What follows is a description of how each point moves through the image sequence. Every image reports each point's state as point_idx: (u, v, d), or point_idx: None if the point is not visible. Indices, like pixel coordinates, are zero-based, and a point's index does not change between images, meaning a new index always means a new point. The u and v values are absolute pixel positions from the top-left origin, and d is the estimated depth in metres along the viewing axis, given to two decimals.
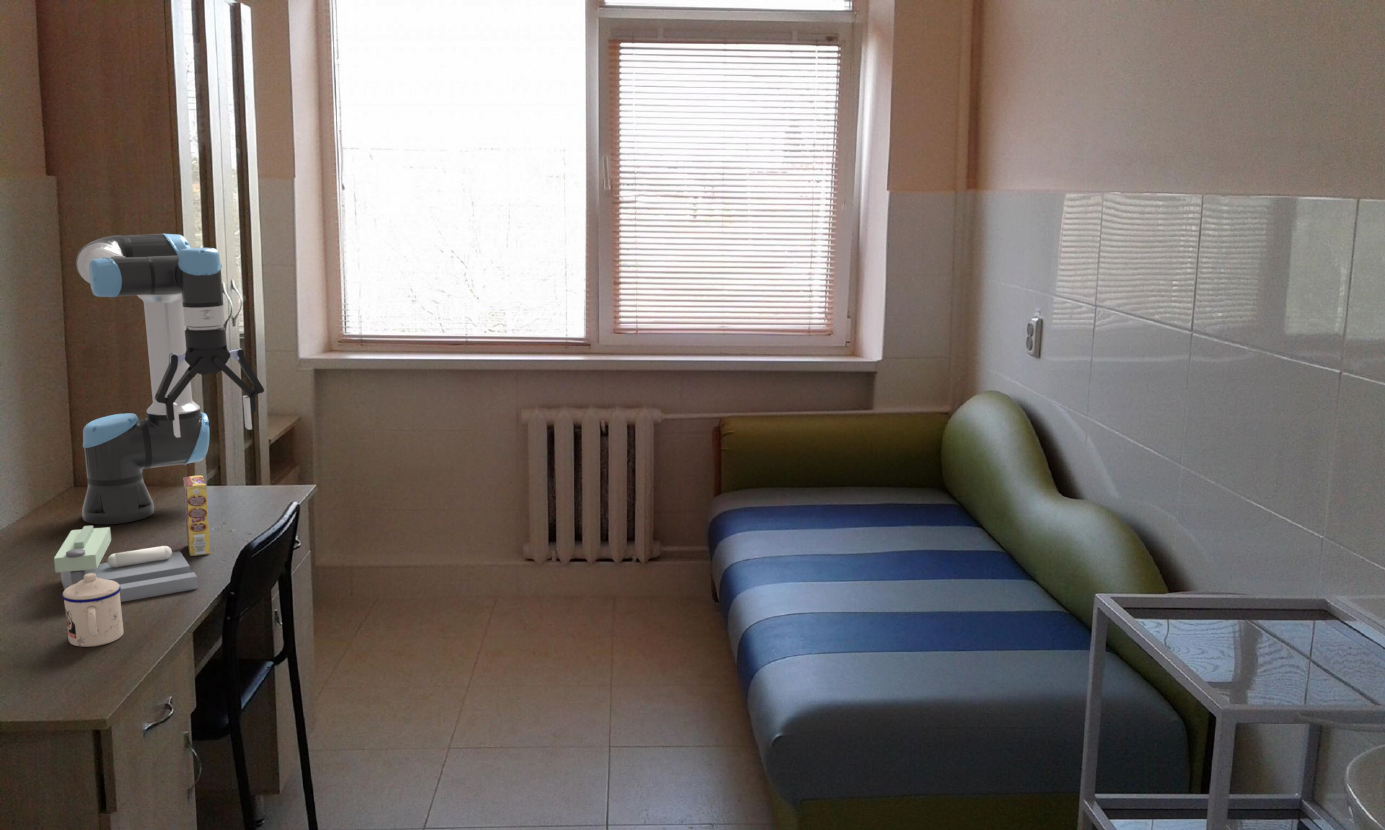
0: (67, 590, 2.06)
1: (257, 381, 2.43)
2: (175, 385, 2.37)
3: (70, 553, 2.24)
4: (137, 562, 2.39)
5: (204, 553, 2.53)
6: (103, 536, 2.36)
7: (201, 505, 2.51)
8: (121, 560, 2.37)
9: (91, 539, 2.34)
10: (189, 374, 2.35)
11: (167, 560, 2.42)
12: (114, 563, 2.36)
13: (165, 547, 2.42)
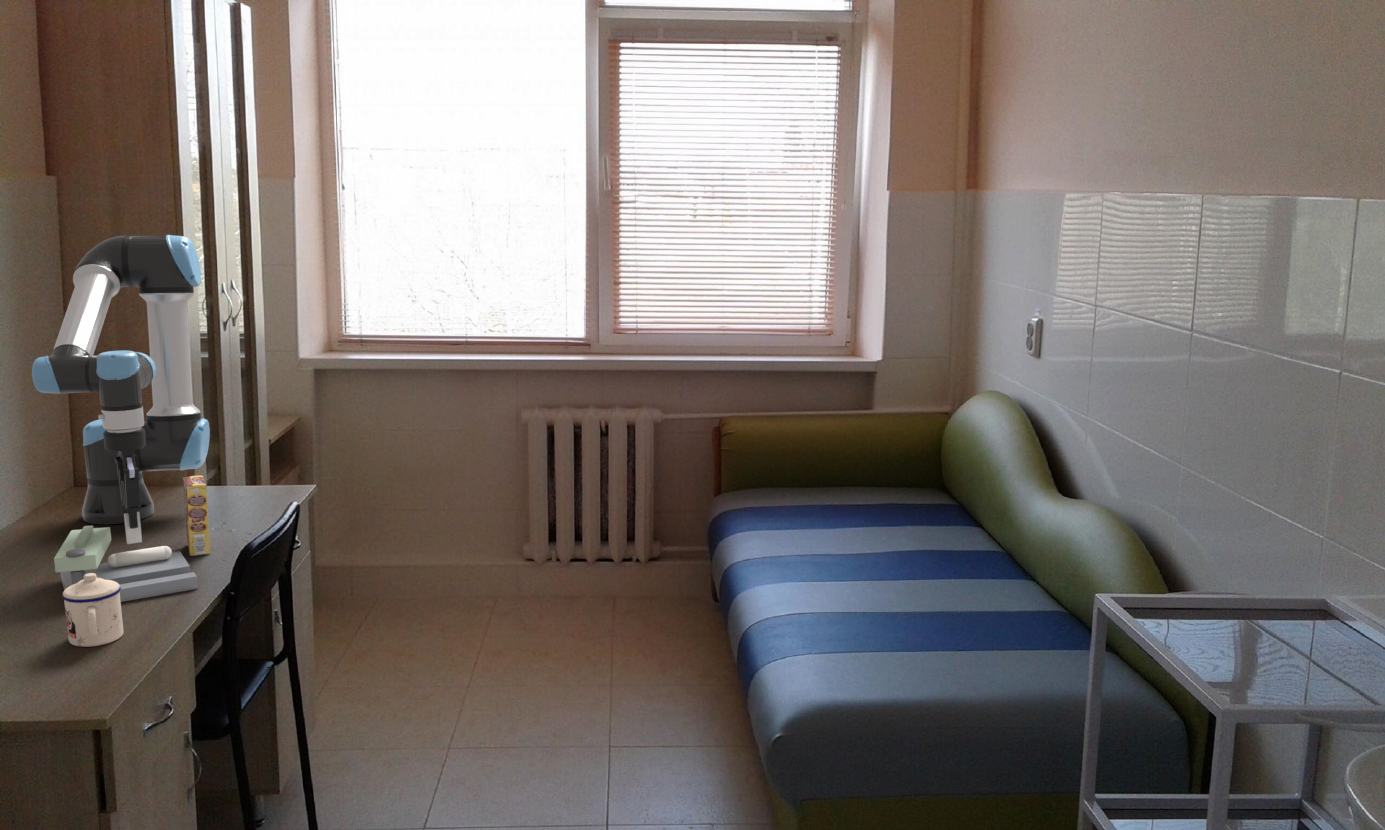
0: (67, 590, 2.06)
1: (126, 501, 2.39)
2: None
3: (70, 553, 2.24)
4: (137, 562, 2.39)
5: (204, 553, 2.53)
6: (103, 536, 2.36)
7: (201, 505, 2.51)
8: (121, 560, 2.37)
9: (91, 539, 2.34)
10: None
11: (167, 560, 2.42)
12: (114, 563, 2.36)
13: (165, 547, 2.42)
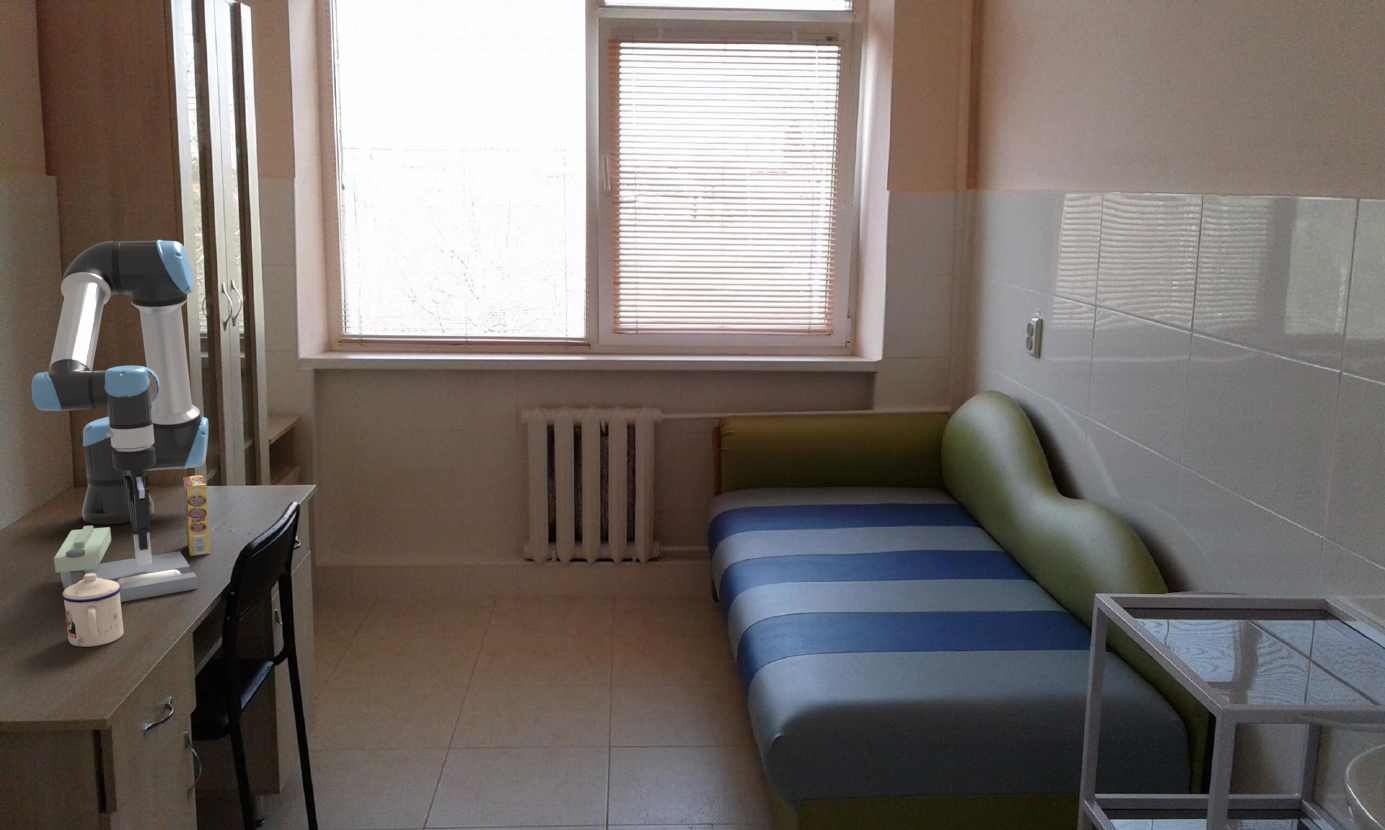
0: (67, 590, 2.06)
1: (136, 522, 2.30)
2: None
3: (70, 553, 2.24)
4: None
5: (204, 553, 2.53)
6: (103, 536, 2.36)
7: (201, 505, 2.51)
8: None
9: (91, 539, 2.34)
10: None
11: (167, 560, 2.42)
12: None
13: None
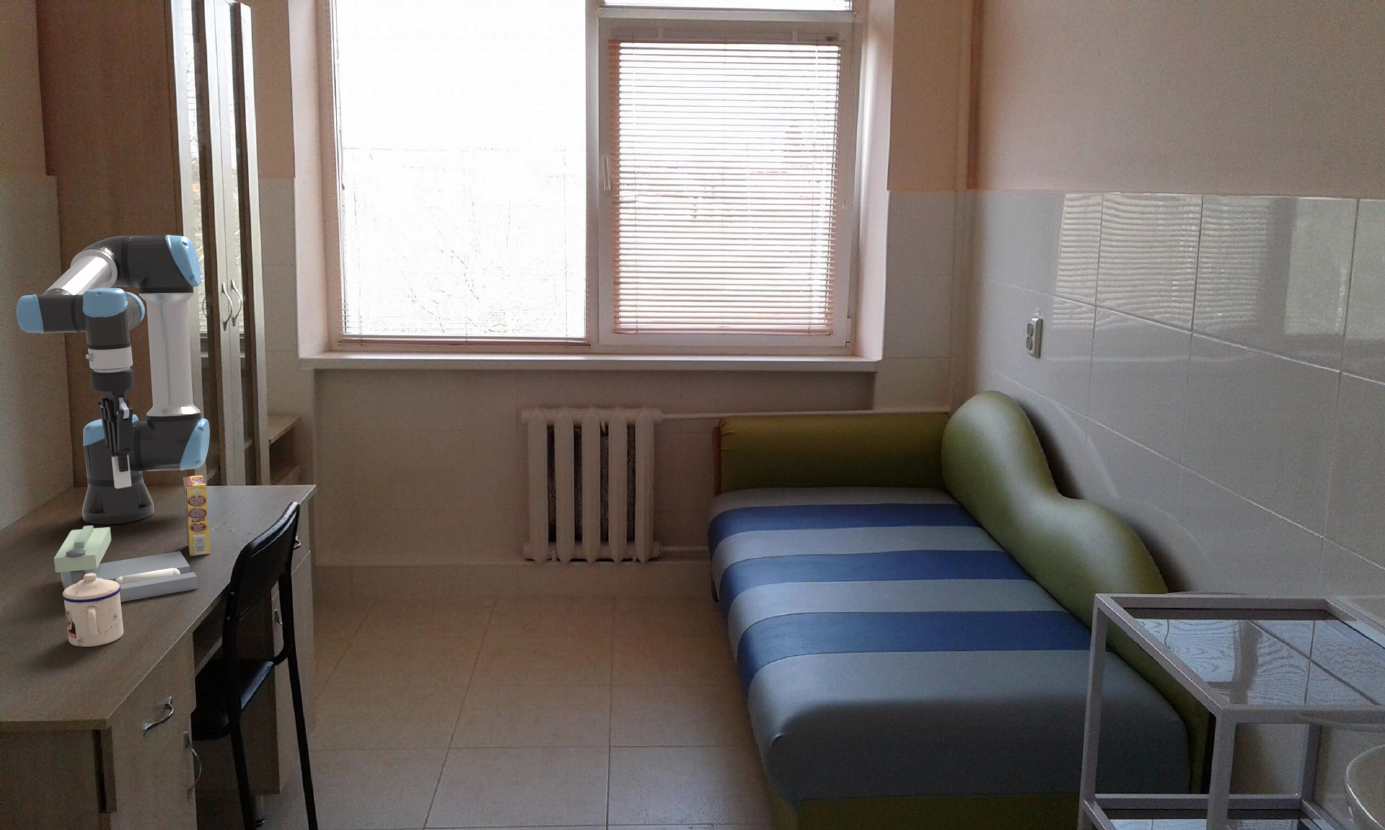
0: (67, 590, 2.06)
1: (118, 443, 2.32)
2: None
3: (70, 553, 2.24)
4: None
5: (204, 553, 2.53)
6: (103, 536, 2.36)
7: (201, 505, 2.51)
8: None
9: (91, 539, 2.34)
10: (105, 418, 2.35)
11: (167, 560, 2.42)
12: None
13: (174, 570, 2.35)
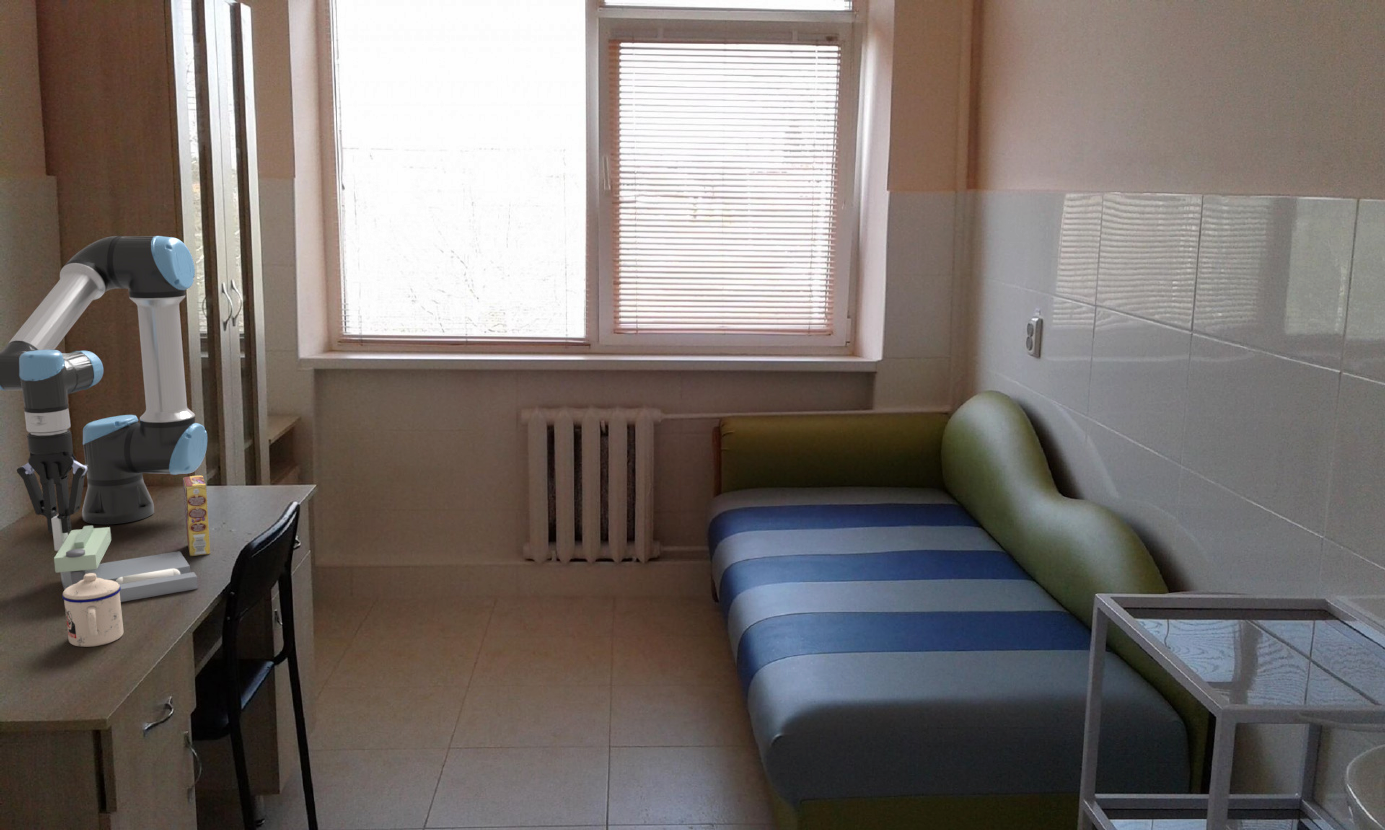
0: (67, 590, 2.06)
1: (74, 502, 2.33)
2: None
3: (70, 553, 2.24)
4: None
5: (204, 553, 2.53)
6: (103, 536, 2.36)
7: (201, 505, 2.51)
8: None
9: (91, 539, 2.34)
10: (42, 483, 2.31)
11: (167, 560, 2.42)
12: None
13: (174, 572, 2.35)
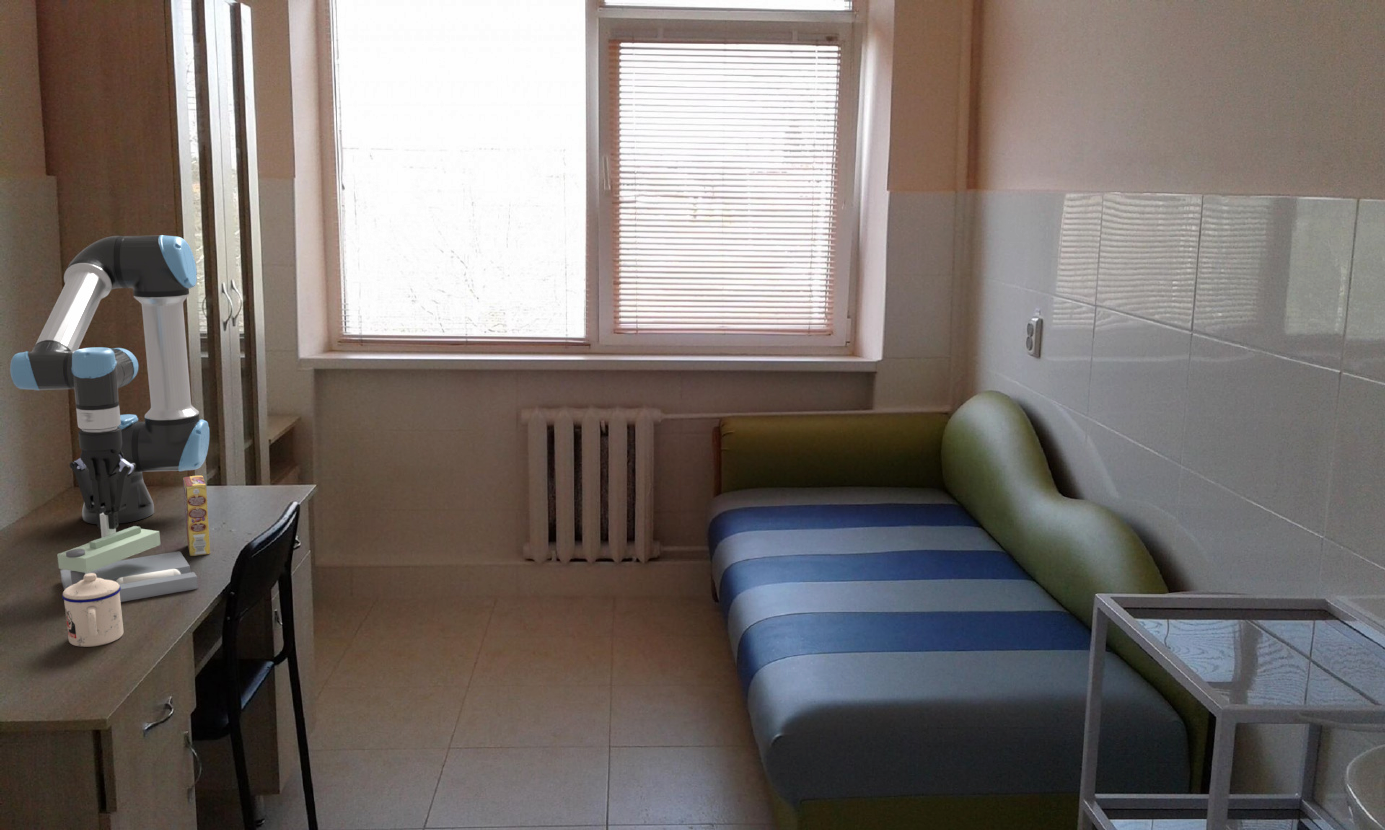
0: (67, 590, 2.06)
1: (119, 500, 2.34)
2: None
3: (68, 552, 2.25)
4: None
5: (204, 553, 2.53)
6: (133, 540, 2.34)
7: (201, 505, 2.51)
8: None
9: (119, 541, 2.33)
10: (91, 479, 2.34)
11: (167, 560, 2.42)
12: None
13: (175, 573, 2.35)
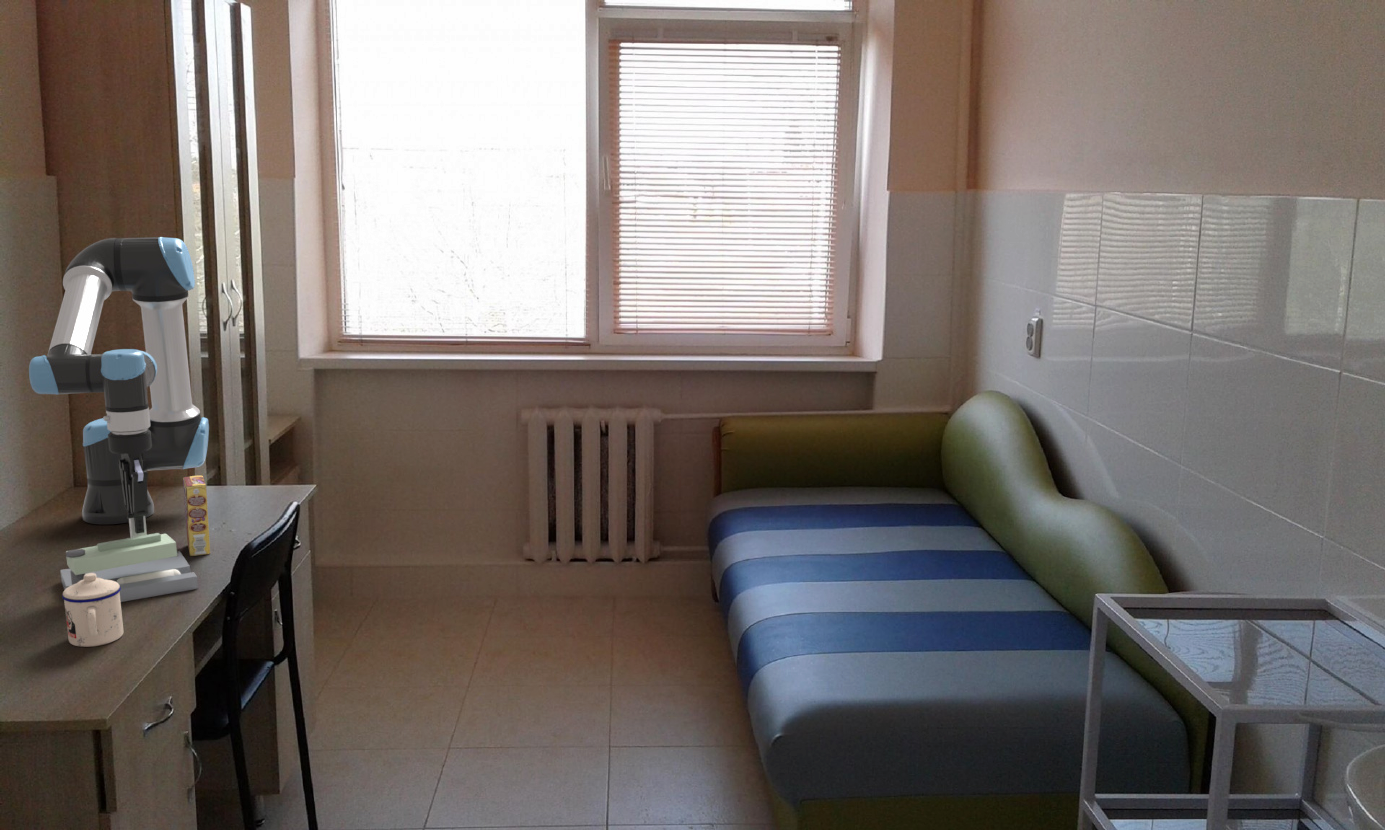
0: (67, 590, 2.06)
1: (133, 505, 2.31)
2: None
3: (69, 551, 2.25)
4: None
5: (204, 553, 2.53)
6: (141, 548, 2.29)
7: (201, 505, 2.51)
8: None
9: (129, 547, 2.30)
10: None
11: (167, 560, 2.42)
12: None
13: (175, 574, 2.34)
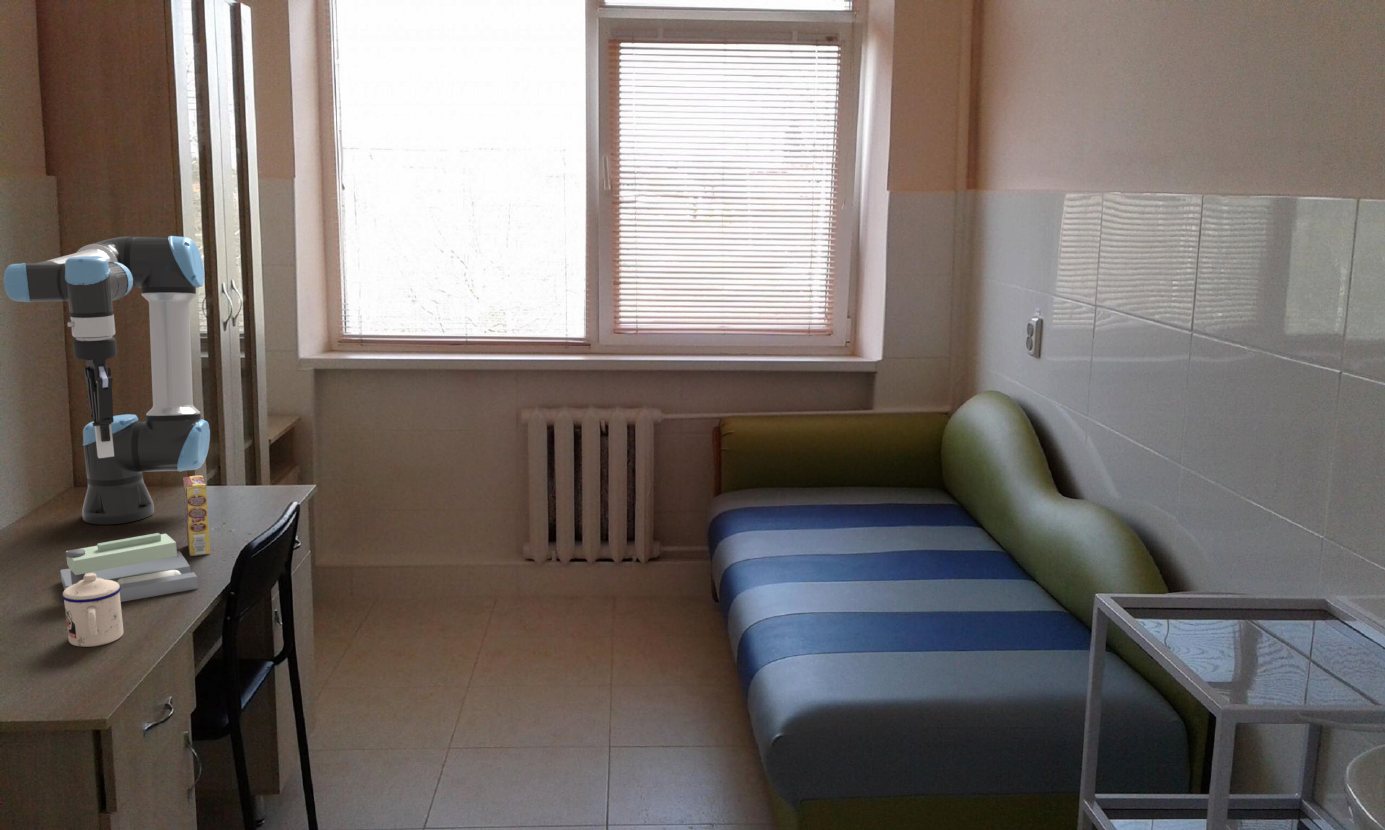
0: (67, 590, 2.06)
1: (99, 412, 2.30)
2: None
3: (69, 551, 2.25)
4: None
5: (204, 553, 2.53)
6: (141, 548, 2.29)
7: (201, 505, 2.51)
8: None
9: (129, 547, 2.30)
10: None
11: (167, 560, 2.42)
12: None
13: None
